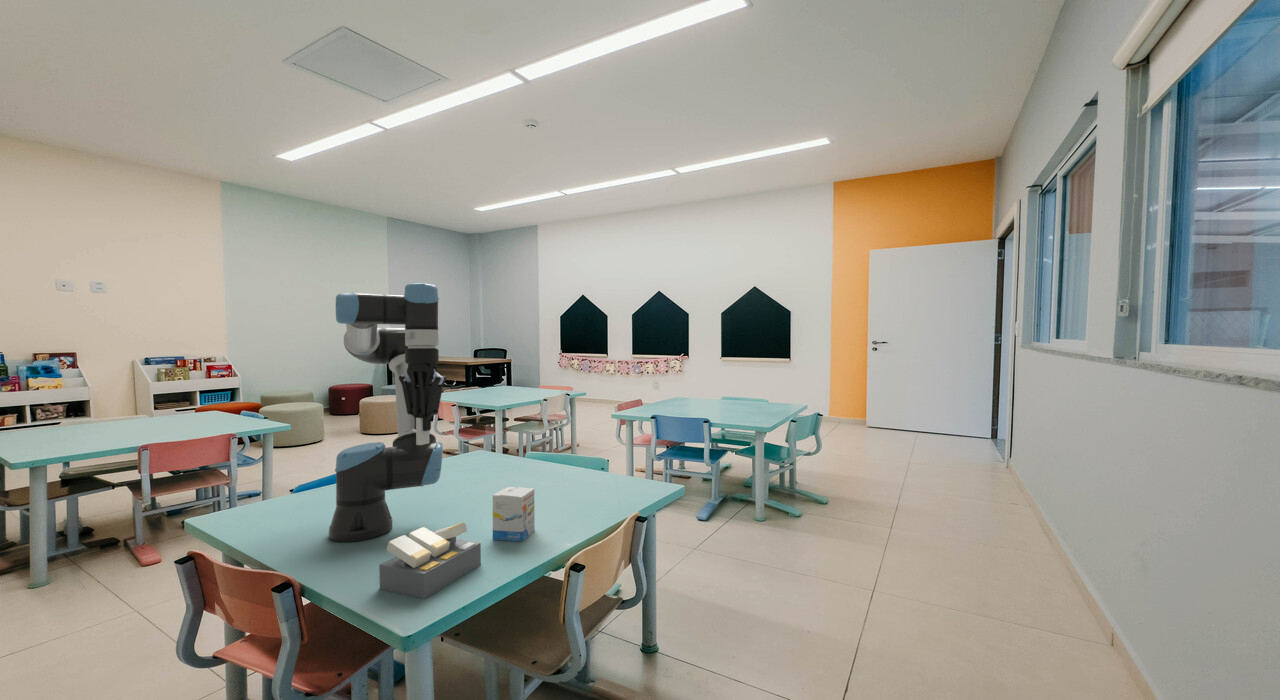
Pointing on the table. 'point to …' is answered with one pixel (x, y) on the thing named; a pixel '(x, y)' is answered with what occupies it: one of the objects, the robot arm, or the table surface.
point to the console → (430, 570)
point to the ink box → (513, 514)
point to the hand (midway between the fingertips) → (422, 443)
